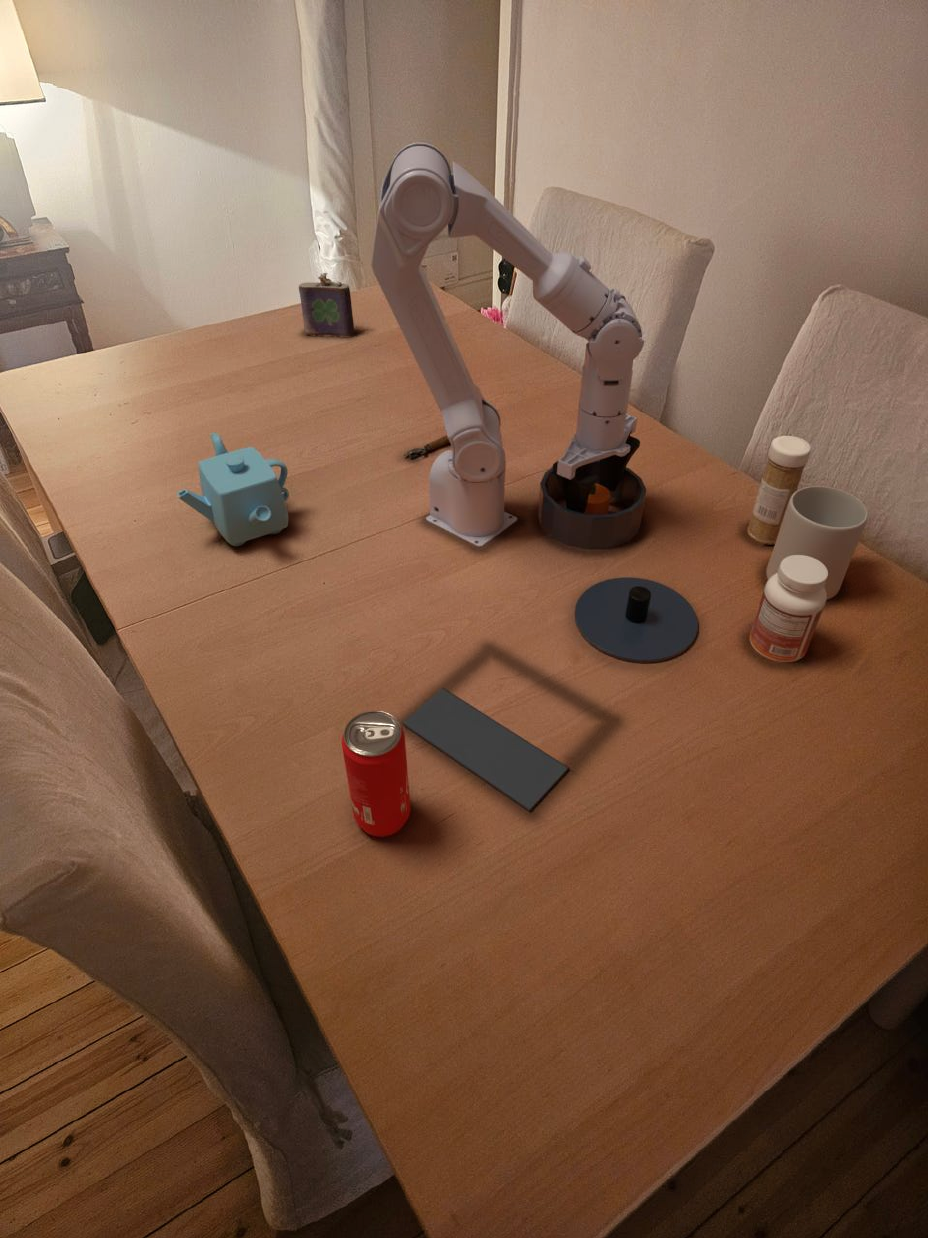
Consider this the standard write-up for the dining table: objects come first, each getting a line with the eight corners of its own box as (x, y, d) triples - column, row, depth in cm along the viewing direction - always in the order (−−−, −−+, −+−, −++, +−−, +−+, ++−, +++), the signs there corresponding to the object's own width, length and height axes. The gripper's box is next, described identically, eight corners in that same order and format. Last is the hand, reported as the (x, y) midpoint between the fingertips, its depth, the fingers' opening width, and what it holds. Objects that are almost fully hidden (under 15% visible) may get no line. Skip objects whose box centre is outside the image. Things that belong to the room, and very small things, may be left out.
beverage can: (354, 794, 77) (341, 710, 69) (410, 790, 77) (403, 706, 69) (353, 843, 73) (339, 760, 65) (412, 838, 73) (405, 755, 65)
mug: (807, 614, 95) (836, 538, 87) (750, 575, 100) (773, 500, 92) (872, 577, 100) (905, 502, 92) (814, 541, 105) (841, 467, 97)
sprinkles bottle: (789, 538, 105) (820, 446, 96) (765, 550, 103) (794, 458, 94) (762, 520, 108) (789, 430, 99) (738, 532, 106) (763, 440, 97)
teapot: (320, 545, 104) (310, 478, 98) (213, 582, 99) (194, 514, 92) (269, 478, 116) (256, 413, 109) (170, 508, 111) (151, 442, 104)
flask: (303, 335, 150) (295, 276, 143) (307, 329, 152) (299, 269, 145) (353, 338, 149) (347, 278, 142) (356, 331, 152) (351, 272, 144)
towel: (402, 725, 83) (402, 722, 83) (489, 649, 91) (489, 647, 90) (529, 812, 75) (529, 809, 75) (612, 721, 83) (613, 719, 83)
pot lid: (550, 628, 93) (552, 598, 90) (615, 569, 101) (620, 539, 98) (656, 686, 87) (663, 655, 83) (718, 618, 94) (726, 588, 91)
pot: (518, 525, 108) (520, 489, 104) (575, 482, 115) (579, 447, 111) (603, 566, 101) (608, 530, 98) (658, 517, 109) (665, 482, 105)
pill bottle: (779, 620, 94) (806, 543, 86) (818, 654, 90) (850, 577, 82) (736, 636, 92) (760, 559, 85) (773, 672, 88) (802, 595, 80)
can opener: (452, 437, 123) (452, 430, 123) (461, 444, 122) (461, 437, 121) (400, 455, 120) (400, 448, 119) (408, 462, 119) (408, 455, 118)
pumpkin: (564, 519, 108) (567, 486, 104) (584, 504, 110) (588, 471, 107) (593, 533, 105) (598, 499, 102) (613, 517, 108) (618, 483, 104)
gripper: (597, 441, 91) (585, 539, 100) (664, 392, 99) (647, 487, 108) (545, 420, 94) (539, 517, 103) (614, 375, 102) (602, 469, 111)
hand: (591, 501), depth 106 cm, fingers open, 7 cm apart
